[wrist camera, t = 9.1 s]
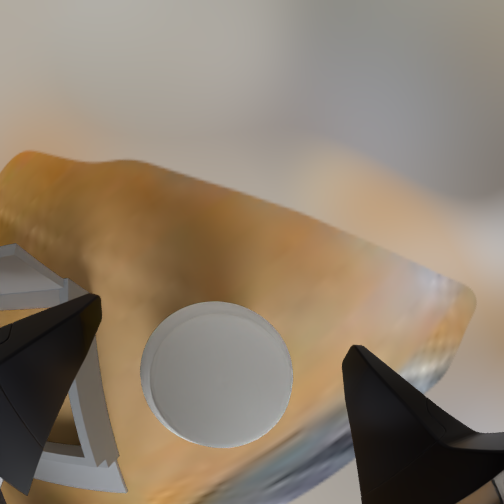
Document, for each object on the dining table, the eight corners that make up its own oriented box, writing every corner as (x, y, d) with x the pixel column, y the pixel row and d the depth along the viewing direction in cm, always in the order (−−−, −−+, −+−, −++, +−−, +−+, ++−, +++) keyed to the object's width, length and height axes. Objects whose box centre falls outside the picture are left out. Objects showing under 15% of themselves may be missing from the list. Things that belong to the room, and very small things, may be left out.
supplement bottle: (153, 340, 16) (94, 316, 7) (234, 312, 18) (274, 256, 8) (186, 420, 14) (171, 493, 5) (267, 390, 16) (345, 421, 7)
